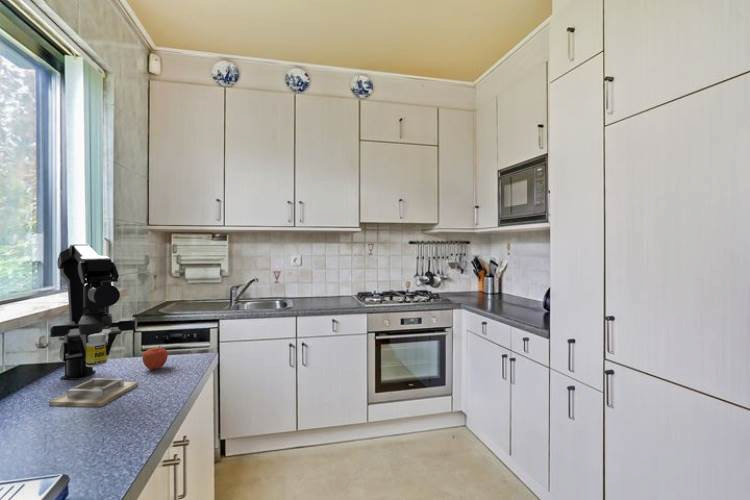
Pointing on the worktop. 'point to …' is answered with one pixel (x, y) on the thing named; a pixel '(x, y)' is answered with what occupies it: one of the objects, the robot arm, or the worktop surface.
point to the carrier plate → (94, 392)
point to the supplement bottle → (96, 350)
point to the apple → (155, 358)
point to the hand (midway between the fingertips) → (96, 356)
